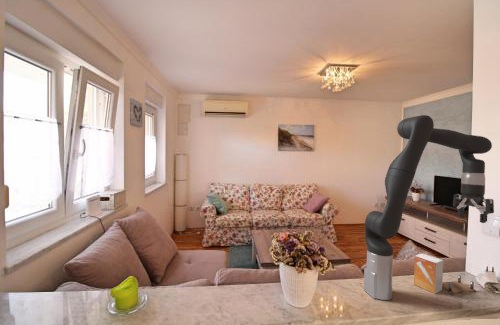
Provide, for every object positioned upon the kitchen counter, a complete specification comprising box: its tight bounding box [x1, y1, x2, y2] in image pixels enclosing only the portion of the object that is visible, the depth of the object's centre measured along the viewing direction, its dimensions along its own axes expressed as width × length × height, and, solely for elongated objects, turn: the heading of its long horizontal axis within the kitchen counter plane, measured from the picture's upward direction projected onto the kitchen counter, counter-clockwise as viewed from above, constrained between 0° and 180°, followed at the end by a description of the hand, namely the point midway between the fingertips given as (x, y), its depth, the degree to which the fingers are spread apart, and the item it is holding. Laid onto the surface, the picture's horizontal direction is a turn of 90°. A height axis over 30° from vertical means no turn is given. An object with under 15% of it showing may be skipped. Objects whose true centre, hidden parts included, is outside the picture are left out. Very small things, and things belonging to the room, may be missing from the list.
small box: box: [413, 253, 444, 295], centre depth 99 cm, size 8×6×13 cm
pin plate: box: [442, 274, 477, 295], centre depth 99 cm, size 12×7×4 cm, turn 99°
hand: (471, 220), depth 100 cm, fingers open, 8 cm apart
